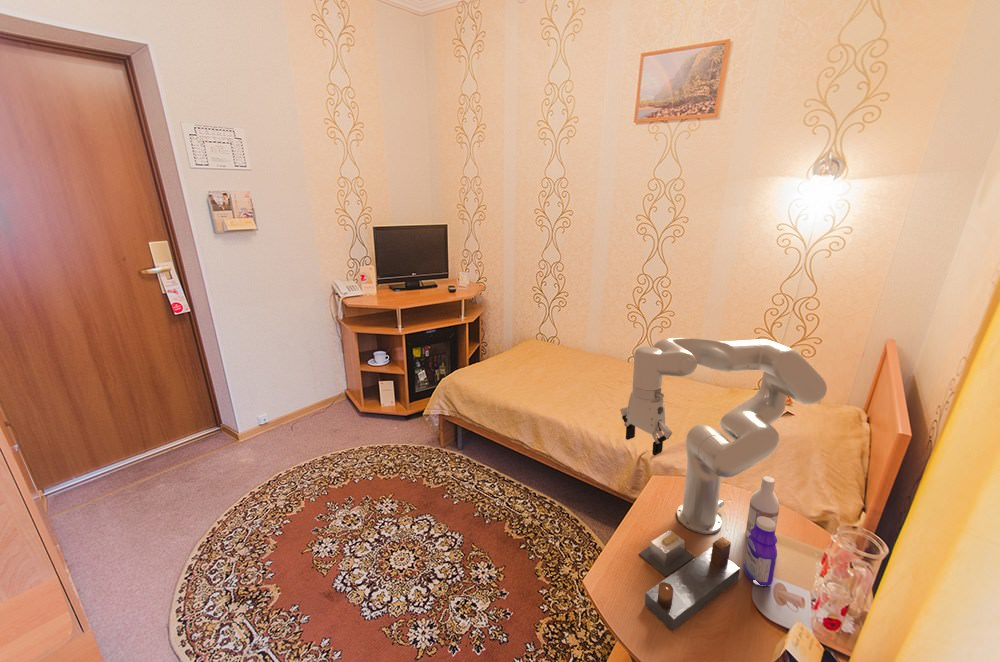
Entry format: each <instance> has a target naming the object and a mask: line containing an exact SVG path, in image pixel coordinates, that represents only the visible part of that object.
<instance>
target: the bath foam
mask: <svg viewBox="0 0 1000 662" xmlns="http://www.w3.org/2000/svg"><path fill="white" fill-rule="evenodd" d="M775 482H776V481H775V479H774V478H773V477H771V476H768V475H767V476H763V477H762V479H761V485H760V486H761V487H760V488H758V489H757V490H756V491H753V494H752V495H751V498H750V499H749V500H750V501H749V508H748V514H747V521H746V527H745V535H746V537H747V538H748V537H749V535H751V530H752V529H753V528H754V527H755V525H756V520H757V517H760V516H764V517H767V518H770V519H771V520H773V521H774V522H775V525H776V526H775V532H776V529H777V524H778V518H779V511H780V502H779V499H778V497H777V495H776V494H775V492H774V489H775Z"/></svg>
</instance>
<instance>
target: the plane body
mask: <svg viewBox="0 0 1000 662" xmlns="http://www.w3.org/2000/svg"><path fill="white" fill-rule="evenodd" d="M731 545H732V542H731V541H730V540H728V539H727V538H725V537H724V536H721V537H719V538H718V539H717V540H715V541H713V542H712V545H711V547H709V548H708V549H707V550H705V551H704V552H702V553H701V554H699V555H698V556H696V557H695V558H693V559H692V560H691V561H689V562H688V563H686V564H685V565H683V566H682V567H680V568H679V569H677V570H676V571H675V572H673V573H672V574H670V575H669V576H667V577H665V578H664V579H663V580H662V581H660V582H658V583H657V584H656V585H655V586H653V587H651V588H650V589H649V590H647V591H645V592H644V593H645V595H644V607H645V608H647V609H648V610H649V611H650V613H652V614H653V615H654V616H655V617H656V618H657V619H658V620H659V621H660V622H661V624H663V625H664V626H665V627H666V628H667V629H668V630H669V631H670V632H671V633H674V631H676V630H678V628H680V627H681V626H682V625H684V624H685V623H686V622H687V621H690V619H691V618H693V617H694V616H695V615H696V614H697V613H699V612H700V611H702V610H703V609H704V608H705V607H706V606H708V605H709V604H710V603H711V602H713V601H714V600H715V599H717V597H719V596H720V595H722V594H723V593H724V592H725V591H726V590H728V589H729V588H730V587H732V586H733V585H734V584H735V583H736V582H738V581H739V579H740V571H741V567H740V566H738V565H737V564H735V563H734V562H733V561H731V560H730V553H731Z"/></svg>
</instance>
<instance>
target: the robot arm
mask: <svg viewBox="0 0 1000 662" xmlns="http://www.w3.org/2000/svg"><path fill="white" fill-rule="evenodd" d="M633 357H634V358H633V374H632V389H631V390H632V391H631V392H630V394H629V400H628V403H627V407H626V406H625V407H622V408H620V410H619V411H620V412H621V413H620V414H621V419H622V421H623V422H624V423H623V424H624V427H625V440H627V441H630V440H632V439H635V437H636V428H637V429H639V430H642V431H643V432H645V433H647V434H650V435H651V436H652V439H653V442H652V453H651V454H652V455H653V456H657V455H660V454H661V453H662V452H663V447H664V446H663V444H664V442H665V441H667V440H669V438H670V437H671V436H672V434H673V432H672V430H671V429H670V428H669V427H668V426H667V425H666V408H665V402H664V401H665V400H664V397H665V394H664V393H662V388H663V387H662V384H663V376H665V377H666V376H667V377H677V378H679V377H680V378H681V377H687V376H689V375H692V374H693V373H694V372H695V370H696V369H697V366H698V365H700V366H703V367H706V368H708V369H711V370H715V371H720V372H726V373H727V372H728V373H729V372H731V373H732V372H743V371H762V373H763V374H762V380H761V385H760V387H759V389H758V391H757V393H755V395H754V396H752V397H750V398H749V399H747V400H746V401H744V402H743V403H741V404H739V405H738V406H735V407H734V408H732V409H731V410H730V411H728V412H726V413H725V414H724V415H723V416H722V417H721V418H720V420H719V425H720V428H721V430H722V431H723V433H725V435H726V436H728V437H729V438H730V439H731V440H732V441H731V440H729V439H728V438H727V437H726V436H724V435H723V434H722V433H721V432H720V431H718V430H717V429H715V428H714V427H712V426H710V425H708V424H702V423H701V424H696V425H695V426H693V427H691V428H690V429H689V430H688V431H687V433H686V438H685V450H686V472H685V480H684V489H683V490H684V493H683V500H682V501H683V504H682V503H681V505H679V506H678V507H677V509H676V517H677V520H678V521H679V523H680V524H681V525H683V526H684V527H686V528H687V529H688V530H691V531H692V532H694V533H698V534H703V535H711V534H715V533H718V532H719V531H720V530H721V528H722V524H723V522H722V519H721V516H720V515H719V514H718V511H719V509H721V508H722V507H724V505H725V504H724V501H723V500H721V499H720V493H721V485H722V478H725V479H727V478H732V477H736V476H738V475H739V474H742V473H743V472H745V471H747V470H749V469H750V468H752V467H754V466H755V465H756V464H758V463H760V462H762V461H764V460H765V459H767V458H768V457H770V456H771V455H772V454H774V452H775V451H776V450H777V448H778V446H779V443H780V436H779V435H780V434H779V432H778V431H777V430H776V428H775V427H774V426H773V425H772V424H774V423H775V422H776V421H778V420H779V419H780V418H782V416H783V414H784V412H785V410H786V409H785V408H786V404H787V403H786V402H787V397H789V398H790V399H792V400H795V401H796V402H798V403H800V404H801V405H802V404H804V405H814V404H815V405H816V404H818V403H819V402H821V401H823V399H824V398H825V397H826V395H827V390H828V388H827V386H828V385H827V383H826V381H825V380H824V378H823V377H822V375H821V374H819V372H818V371H817V370H816V369H815V368H814V367H813V366H812V365H811V364H810V363H809V362H808V361H807V360H806V359H805V358H804V356H802V354H800V353H799V352H797V350H795V349H793V348H791V347H788V346H786V345H784V344H781V343H779V342H776V341H773V340H770V339H764V338H761V339H758V338H757V339H741V340H737V339H736V340H717V339H704V338H702V339H701V338H693V337H692V338H691V337H677V338H676V337H675V338H674V337H673V338H671V337H670V338H663V339H661V340H658V341H657V342H655V344H653V346H641V347H638V348H636V350H635V351H634V356H633Z"/></svg>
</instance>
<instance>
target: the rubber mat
mask: <svg viewBox="0 0 1000 662" xmlns="http://www.w3.org/2000/svg"><path fill="white" fill-rule="evenodd" d="M638 555H639V556H641V558H643V559H644V560H645V561H646V562H647V563H649V565H651V566H652V567H653V568H654V569H655V570H656V571H658V572H659V573H660V574H661V575H662V576H664V578H667V577H669V576H670V575H672V574H673V573H675V572H676V571H678V570H679V569H680V568H682V567H683V566H685V565H686V564H688V563H689V562H691V561H692V560H694V559H695V558H696V557H695V555H694V554H693V553H691V551H689V550H687V549H686V548H685V547H684V554H683V555H682V556H680V557H679V558H677V559H676V560H674V561H673V562H672V563H670V564H669V565H667V566H666V567H664V566H663V565H662V564H660V563H659V562H658V561H657V560H656V559H654V558H653V557H652V556H651V555H650V546H648V547H646V548H645V549H643V550H641V551H640V552H639V553H638Z"/></svg>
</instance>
